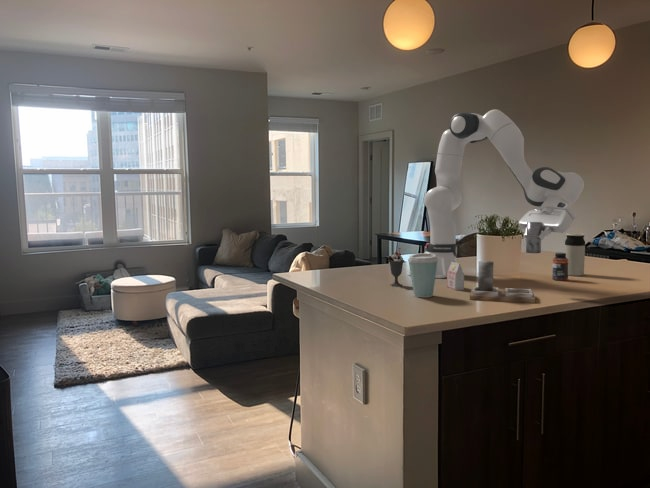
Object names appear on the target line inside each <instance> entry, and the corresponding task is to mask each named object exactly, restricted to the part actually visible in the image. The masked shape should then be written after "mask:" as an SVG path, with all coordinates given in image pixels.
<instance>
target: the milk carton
mask: <svg viewBox="0 0 650 488" xmlns="http://www.w3.org/2000/svg"><path fill="white" fill-rule="evenodd" d="M446 288H448V289H451V290H454V291H462V290H463V291H464V289H465V273H464V271H463V269H462V266H461V263H459V262H457V263H455V262H451V264H450V266H449V269H448V271H447V277H446Z"/></svg>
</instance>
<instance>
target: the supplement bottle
mask: <svg viewBox="0 0 650 488" xmlns="http://www.w3.org/2000/svg"><path fill="white" fill-rule="evenodd" d="M552 280H554V281H559V282H562V281H563V282H564V281H565V282H566V281H567V280H569V275H568V259H567V258H566V253H565V252H561V251H559V252H555V255H554V257H553V258H552Z"/></svg>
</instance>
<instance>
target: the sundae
mask: <svg viewBox="0 0 650 488" xmlns="http://www.w3.org/2000/svg"><path fill="white" fill-rule="evenodd" d="M401 248H402V247H398V250H397V251H395V252H394V253H393V254H392V255H389V256H388V260H387V261H388V262H389V265H390V272H391V275H392V276H393V277H394V282H393V283H390V285H392V286H391V287H403V284H401V283H400V282H399V277H400V276H401V274H402V272H403V264H404V262H405V259H404V258H403V256H402V254H401ZM398 251H399V252H398Z"/></svg>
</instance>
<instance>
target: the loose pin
mask: <svg viewBox="0 0 650 488" xmlns="http://www.w3.org/2000/svg"><path fill="white" fill-rule="evenodd" d="M541 230H542V222H527V234H526V238H525V241H526V242H525V243H526V245H525V253H526V254H541V252H542V240H540V239H538V238H537V235H538V234H539V233H542V231H541Z"/></svg>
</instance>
